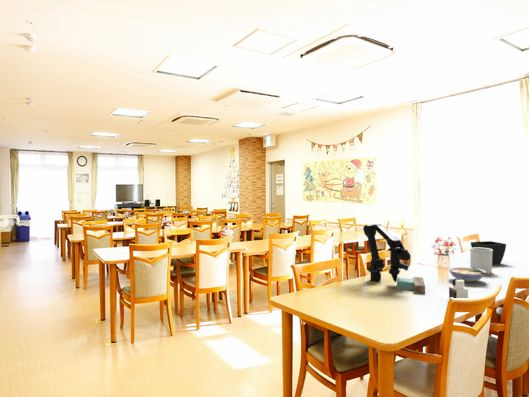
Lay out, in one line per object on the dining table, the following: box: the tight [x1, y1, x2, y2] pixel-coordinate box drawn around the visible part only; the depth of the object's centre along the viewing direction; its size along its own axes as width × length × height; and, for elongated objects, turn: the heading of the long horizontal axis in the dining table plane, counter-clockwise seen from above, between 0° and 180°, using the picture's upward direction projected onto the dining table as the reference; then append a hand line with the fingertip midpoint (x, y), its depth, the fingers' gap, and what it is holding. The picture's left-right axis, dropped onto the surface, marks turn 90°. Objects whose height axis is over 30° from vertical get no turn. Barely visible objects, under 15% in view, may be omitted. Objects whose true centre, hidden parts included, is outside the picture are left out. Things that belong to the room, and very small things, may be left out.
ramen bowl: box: [448, 266, 488, 283], centre depth 251 cm, size 25×23×8 cm
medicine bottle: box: [448, 278, 469, 299], centre depth 209 cm, size 7×7×12 cm
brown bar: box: [412, 276, 426, 295], centre depth 235 cm, size 6×22×5 cm, turn 160°
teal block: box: [396, 277, 414, 291], centre depth 238 cm, size 10×10×5 cm
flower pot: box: [470, 240, 507, 265], centre depth 307 cm, size 19×19×17 cm
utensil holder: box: [469, 247, 493, 275], centre depth 275 cm, size 15×15×18 cm
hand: (395, 281), depth 241 cm, fingers closed
